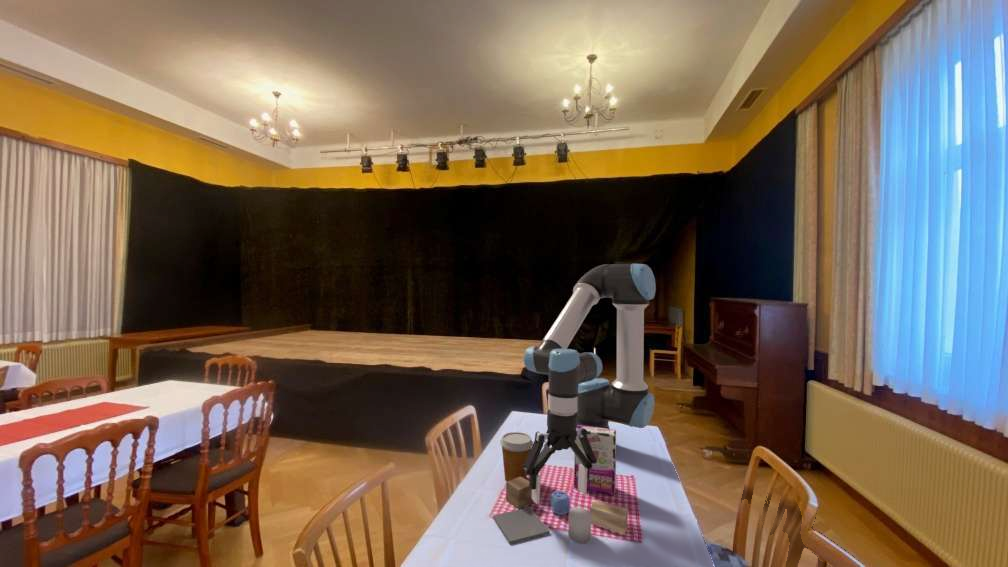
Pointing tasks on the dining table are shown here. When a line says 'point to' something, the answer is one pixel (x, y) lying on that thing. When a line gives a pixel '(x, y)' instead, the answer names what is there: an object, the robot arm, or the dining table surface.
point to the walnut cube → (518, 492)
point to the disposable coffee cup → (515, 454)
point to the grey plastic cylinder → (579, 525)
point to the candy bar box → (599, 460)
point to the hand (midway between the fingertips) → (559, 496)
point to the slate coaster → (520, 525)
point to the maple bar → (609, 516)
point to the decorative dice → (560, 502)
